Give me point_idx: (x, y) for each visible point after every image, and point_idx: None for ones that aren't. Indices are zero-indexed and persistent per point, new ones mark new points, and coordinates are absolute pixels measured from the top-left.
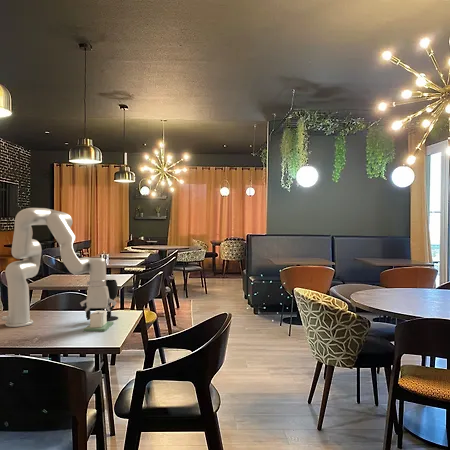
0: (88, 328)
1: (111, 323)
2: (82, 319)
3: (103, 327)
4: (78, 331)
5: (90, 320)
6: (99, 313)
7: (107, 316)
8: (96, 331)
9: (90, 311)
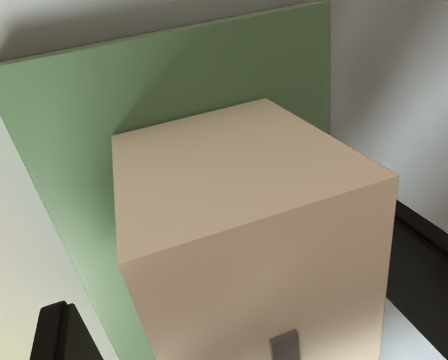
0: (271, 48)
1: (109, 338)
2: (435, 352)
3: (72, 150)
4: (373, 3)
5: (313, 131)
6: (227, 341)
7: (47, 354)
8: (128, 37)
9: (444, 356)
